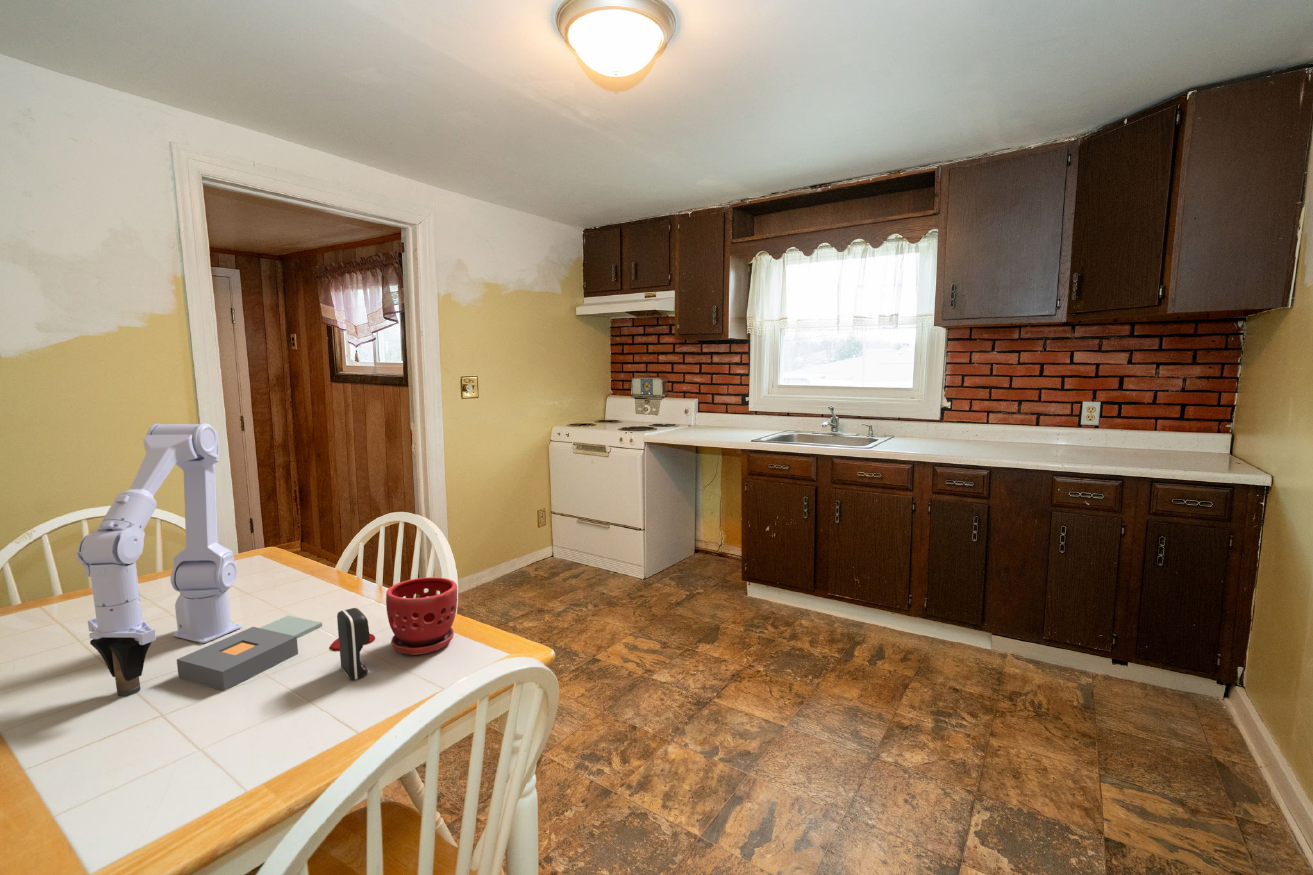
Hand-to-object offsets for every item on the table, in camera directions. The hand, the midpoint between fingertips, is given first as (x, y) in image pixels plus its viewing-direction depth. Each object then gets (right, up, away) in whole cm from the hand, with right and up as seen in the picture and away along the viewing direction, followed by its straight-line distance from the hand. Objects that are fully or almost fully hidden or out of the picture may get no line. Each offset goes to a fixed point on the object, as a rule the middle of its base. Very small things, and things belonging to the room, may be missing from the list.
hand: (127, 675), depth 103 cm
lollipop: (+27, -1, +22) cm, 35 cm away
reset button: (+13, 0, +9) cm, 16 cm away
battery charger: (+36, -2, +7) cm, 36 cm away
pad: (+13, 0, +23) cm, 26 cm away
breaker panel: (+13, -2, +9) cm, 16 cm away
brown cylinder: (0, -3, 0) cm, 3 cm away
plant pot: (+44, -1, +18) cm, 48 cm away
